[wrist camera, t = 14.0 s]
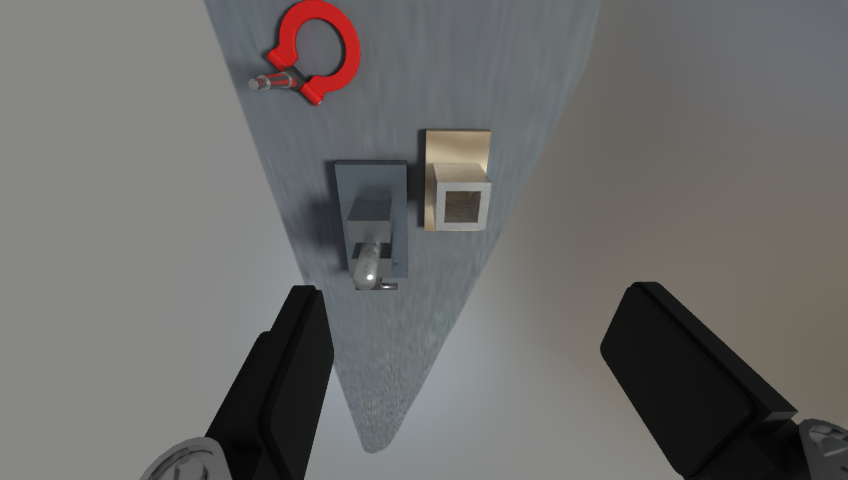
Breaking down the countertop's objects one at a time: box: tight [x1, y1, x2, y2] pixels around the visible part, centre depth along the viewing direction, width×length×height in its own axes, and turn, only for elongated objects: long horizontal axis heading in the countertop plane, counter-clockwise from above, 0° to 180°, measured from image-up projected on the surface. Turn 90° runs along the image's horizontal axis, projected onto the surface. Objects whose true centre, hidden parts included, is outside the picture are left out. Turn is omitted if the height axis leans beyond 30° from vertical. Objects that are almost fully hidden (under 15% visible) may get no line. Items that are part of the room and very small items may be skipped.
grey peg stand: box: [335, 160, 408, 290], centre depth 39 cm, size 18×9×14 cm, turn 179°
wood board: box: [424, 129, 491, 231], centre depth 42 cm, size 14×8×1 cm, turn 179°
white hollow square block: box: [432, 163, 491, 230], centre depth 38 cm, size 6×6×7 cm
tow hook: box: [248, 0, 360, 106], centre depth 29 cm, size 8×13×9 cm
